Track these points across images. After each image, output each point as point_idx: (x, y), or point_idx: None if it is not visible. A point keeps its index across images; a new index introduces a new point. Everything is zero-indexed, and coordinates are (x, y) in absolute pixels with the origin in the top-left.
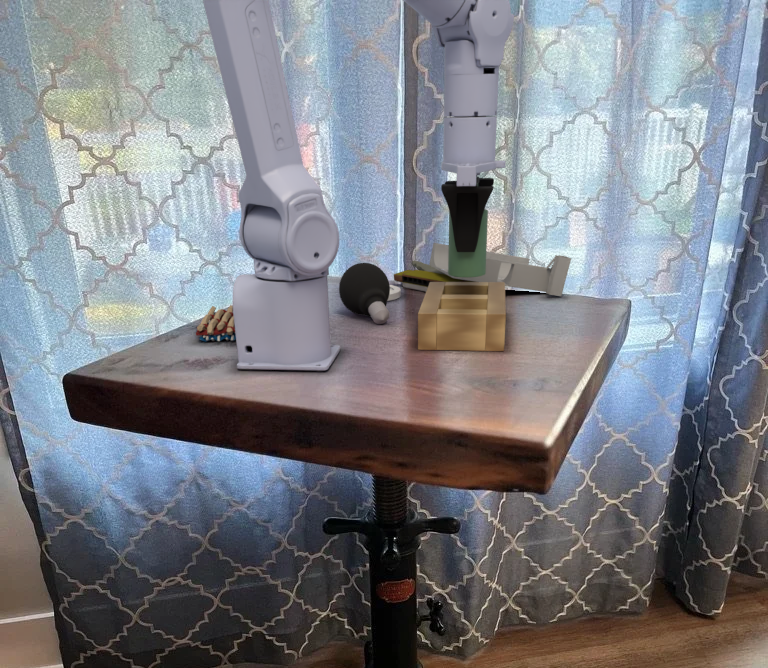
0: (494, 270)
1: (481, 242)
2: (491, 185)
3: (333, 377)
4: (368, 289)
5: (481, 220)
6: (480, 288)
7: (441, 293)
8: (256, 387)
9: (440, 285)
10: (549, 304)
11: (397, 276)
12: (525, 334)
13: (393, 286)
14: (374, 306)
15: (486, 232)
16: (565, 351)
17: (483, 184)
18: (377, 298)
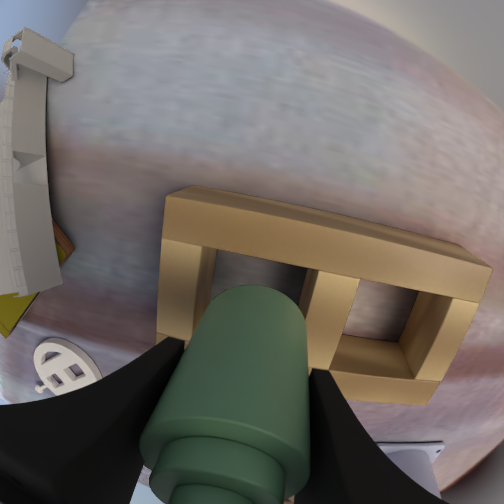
0: (29, 195)
1: (296, 363)
2: (70, 466)
3: (460, 433)
4: None
5: (369, 437)
6: (202, 262)
7: None
8: (450, 470)
9: None
10: (117, 76)
11: (9, 334)
12: (366, 174)
13: (43, 347)
14: None
15: (267, 363)
16: (478, 142)
17: (78, 491)
18: None
